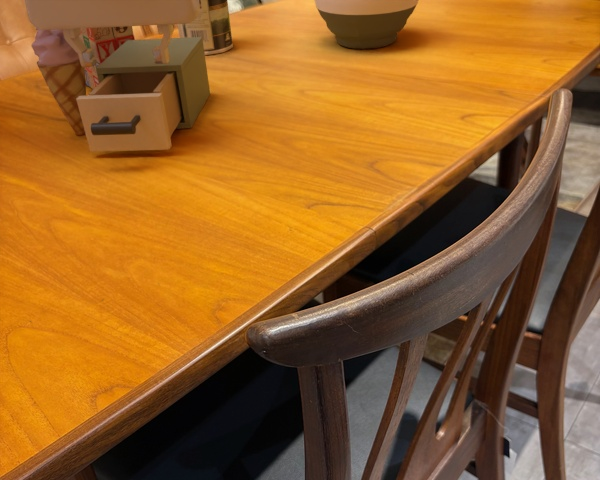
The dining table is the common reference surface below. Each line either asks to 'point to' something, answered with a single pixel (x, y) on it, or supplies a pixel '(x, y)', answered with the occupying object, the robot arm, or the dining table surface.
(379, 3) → the bowl
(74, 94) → the ice cream cone
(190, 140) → the dining table surface
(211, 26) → the coffee can
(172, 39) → the cabinet
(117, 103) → the drawer
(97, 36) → the stack of blocks
